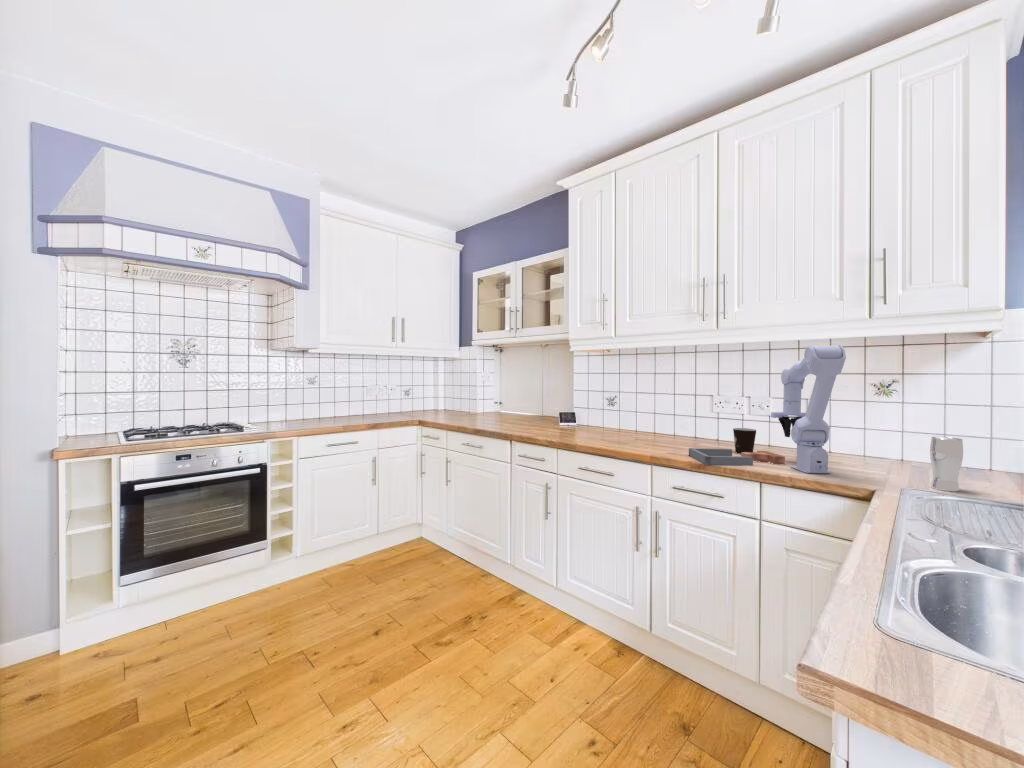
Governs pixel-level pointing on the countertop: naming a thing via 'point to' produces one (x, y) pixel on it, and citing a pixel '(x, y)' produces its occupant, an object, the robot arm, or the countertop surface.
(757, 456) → the t block
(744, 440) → the coffee mug
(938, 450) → the beer glass
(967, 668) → the countertop surface
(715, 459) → the dock
